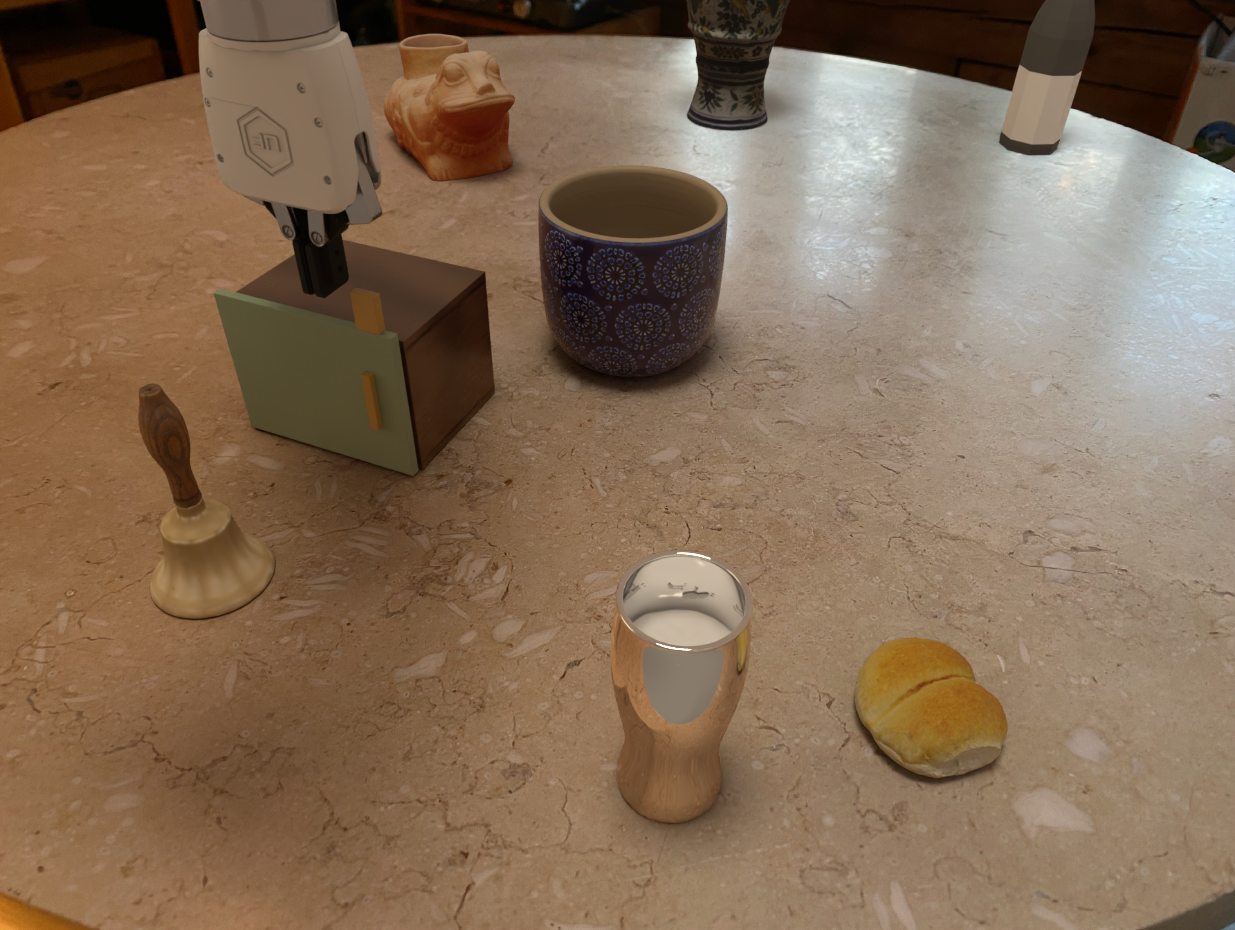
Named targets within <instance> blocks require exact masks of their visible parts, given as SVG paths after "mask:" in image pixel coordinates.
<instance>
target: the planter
mask: <svg viewBox="0 0 1235 930" xmlns="http://www.w3.org/2000/svg"><path fill="white" fill-rule="evenodd" d="M537 210H538V211H537V213H538V215H537V217H538V218H537V222H538V223H537V226H538V254H539V268H540V269H539V270H540V283H541V284H540V285H541V293H542V301H543V307H544V308H543V309H544V313H545V318H546V322H547V325H548V328H549V332H550V333H551V335H552V336H553V338H554V340H555V341H556V342H557V344H558V345H559V347H560V348H561V350H563V351H564V353H565V354H567V355H568V356H569V357H570V358H572V359H573V360H574V361H575V362H577V363H578V364H579V365H581V366H583V367H585V368H587V369H590V370H592V371H595V372H598V373H600V374H605V375H608V376H614V377H621V378H641V377H650V376H654V375H658V374H661V373H665V372H668V371H671V370H673V369H675V368H677V367H679V366H680V365H682V364H684V363H685V362H686V361H688V360H689V359H691V358H692V357H693V356H694V355H695V354H696V353H697V352H698V351H699V350H700V349H701V348H702V347H703V345H704V344H705V342H706V341H707V339H708V338H709V336H710V334H711V331H712V328H713V326H714V323H715V320H716V315H717V310H718V305H719V300H720V296H721V289H722V283H723V282H722V281H723V272H724V266H725V265H724V264H725V256H726V246H727V245H726V244H727V234H728V217H729V215H728V214H729V206H728V201H727V199H726V197H725V196H724V194H723V193H722V192H721V191H720V190H719V189H718V188H717V187H716V186H714V185H713V184H712V183H710V182H708V181H706V180H704V179H702V178H700V177H698V176H695V175H692V174H689V173H686V172H683V171H680V170H675V169H671V168H665V167H661V166H660V167H658V166H651V165H635V164H634V165H633V164H631V165H630V164H628V165H627V164H626V165H622V164H621V165H608V166H607V165H606V166H600V167H592V168H588V169H584V170H579V171H575V172H573V173H569V174H567V175H565V176H563V177H560V178H558V179H557V180H555V181H554V182H552V183H550V184H549V185H548V186H547V187H546V188H545V189H544V190H543V191H542V192H541V195H540V196H539V200H538V209H537Z"/></svg>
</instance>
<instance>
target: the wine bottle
mask: <svg viewBox="0 0 1235 930" xmlns="http://www.w3.org/2000/svg"><path fill="white" fill-rule="evenodd" d="M1095 3H1096V2H1095V0H1044V2H1043V3H1042V5H1041V6H1040V7H1039V9H1038V11H1037V13H1036V15H1035V16H1034V19H1033V20H1032V23H1031V24H1030V27H1029V29H1028V32H1027V36H1026V39H1025V43H1024V46H1023V51H1022V54H1021V58H1020V61H1019V65H1018V68H1017V72H1016V76H1015V80H1014V83H1013V87H1012V90H1011V94H1010V98H1009V101H1008V106H1007V108H1006V113H1005V116H1004V120H1003V124H1002V127H1001V130H1000V134H999V139H998V140H999V141H998V143H999V144H1000V145H1002V146H1003V147H1004V148H1005V149H1006V150H1007V151H1011V152H1014V153H1018V154H1023V155H1027V156H1050V155H1051V154H1052V153H1053V152H1055V151H1056V150H1057V149H1058V147H1059V145H1060V142H1061V139H1062V136H1063V133H1064V129H1065V126H1066V124H1067V121H1068V117H1069V114H1070V111H1071V108H1072V104H1073V103H1074V102H1073V101H1074V98H1075V95H1076V92H1077V89H1078V85H1079V82H1080V80H1081V76H1082V73H1083V70H1084V67H1085V63H1086V60H1087V57H1088V54H1089V50H1090V47H1091V44H1092V41H1093V38H1094V33H1095V23H1096V7H1095V5H1096V4H1095Z"/></svg>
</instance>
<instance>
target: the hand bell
mask: <svg viewBox="0 0 1235 930" xmlns="http://www.w3.org/2000/svg"><path fill="white" fill-rule="evenodd" d="M137 393H138V404H139V405H138V415H137V418H138V428H139V432H140V435H141V439H142V441H143V443H144V445H145V447H146V449H147V451H148V453H149V454H150V456H151V457H152V459H153V460H154V461H155V462H156V464H157V465H158V466H159V467H160V468H161V469H162V471H163V472H164V474H165V477H166V479H167V482H168V485H169V489H170V492H171V495H172V500H173V503H174V505H175V506H174V507H173V508H171V509H169V510H168V512H167V513H165V515H164V517H163V518H162V519H161V522H160V527H159V532H160V535H161V540H162V547H163V556H162V558H161V559H160V560H159V562H158V563H157V564H156V566H155V567H154V570H153V571H152V575H151V578H150V581H149V594H150V597H151V599H152V602H154V604H155V605H156V606H157V607H158V608H159V609H160V610H162V611H163V612H164V613H166V614H168V615H171V616H174V617H176V618H182V619H194V620H195V619H196V620H197V619H206V618H213V617H219V616H222V615H225V614H227V613H231V612H234V611H236V610H238V609H240V608H242V607H243V606H245V605H247V604H248V603H250V602H251V601H253V600H254V599H255V598H256V597H258V596H259V595H260V594H261V593H262V592H264V590H265V589H266V587H268V585H270V583H271V580H272V578H273V576H274V574H275V570H276V557H275V554H274V552H273V550H272V549H271V548H270V546H269V545H268V544H267V543H266V542H265V541H264V540H262V539H261V538H259V537H258V536H256V535H253V534H251V533H248V532H245V531H242V529H241V528H240V527H239V526H238V524H237V522H236V520H235V518H234V517H233V515H232V513H231V510H230V509H229V508H228V506H227V505H226V504H224V503H223V502H221V501H219V500H217V499H213V498H203V495H202V491H201V489H200V487H199V485H198V482H197V479H196V477H195V475H194V472H193V469H192V465H191V452H192V451H191V439H190V435H189V430H188V425H187V424H186V421H185V418H184V416H183V414H182V412H181V411H180V409H179V408H178V406H177V405H176V403H174V402H173V401H172V400H171V399H170V398H169V396H168V395H167V393H166V392H165V391H164V389H163V387H162V386H161V385H160V384H158V383H147V384H145V385H144V386H141V387H139V389H138V391H137Z"/></svg>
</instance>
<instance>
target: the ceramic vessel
mask: <svg viewBox="0 0 1235 930" xmlns="http://www.w3.org/2000/svg"><path fill="white" fill-rule="evenodd" d="M398 51H399V55H400V56H399V57H400V61H401V64H402V71H403V75H401V76H400V77H398V78H397V79H396V80H395V81H394V82H393V83H392V86H391V87H390V90H389V91H388V92H387V94H386V95H385V98H384V101H383V113H384V116H385V118H386V121H387V122H388V125H389V126H390V128H391V130H392V131H393V133H394V134H395V136H396V140H397V143H398V146H399V149H400V150H402V151H403V152H406V153H407V155H408V156H409V157H412V158H413V159H414V161H416V162H418V163H420V165H421V166H422V168H423V169H424V170H425V172H426V173H427V176H428V178H429V179H430V180H432V181H437V182H446V181H456V180H463V179H469V178H470V179H471V178H475V177H480V176H483V175H484V176H485V175H489V174H492V173H496V172H500V171H504V170H507V169H510V168H511V167H513V165H514V160H513V157H512V156H511V155H512V154H511V151H510V148H509V147H510V146H509V137H510V136H509V134H510V130H509V129H510V113H509V111H510V110H511V108H512V107H513V106H514V104H515V100H516V96H515V95H513V94H512V93H511V92H510V91H509V90H508V89H507V88H506V86H505V85H504V82H503V81H502V78H501V71H500V66H499V63H498V61H497V59H496V58H495V57H494V56H493V55H492V54H491V53H490V52H488V51H486V50H481V49H480V50H474V51H470V50H469V43H468V41H467V40H466V39H464V38H463V37H460V36H458V35H451V34H443V33H425V34H417V35H413V36H409V37H407V38H404V39H402V40H401V41H400V42H399V44H398Z"/></svg>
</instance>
